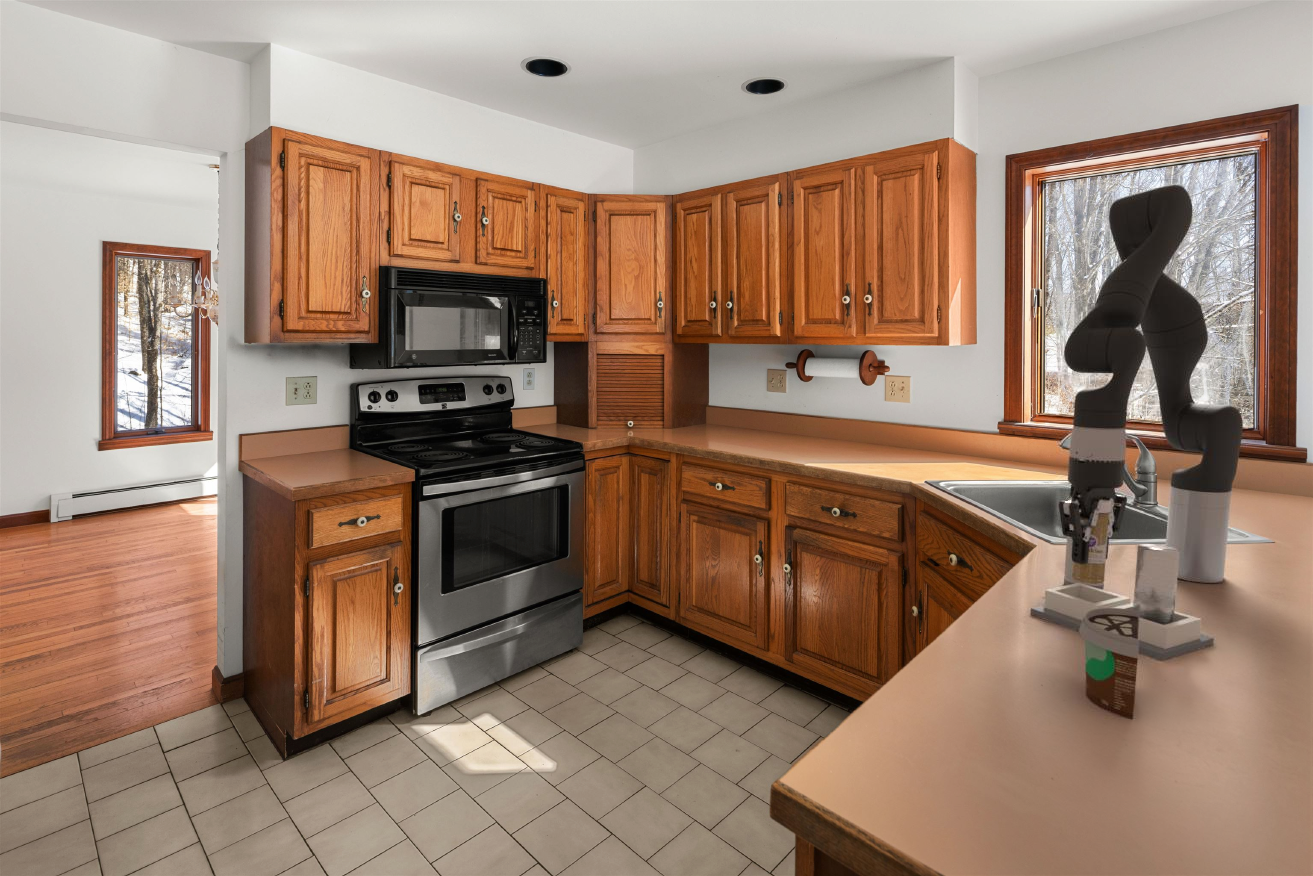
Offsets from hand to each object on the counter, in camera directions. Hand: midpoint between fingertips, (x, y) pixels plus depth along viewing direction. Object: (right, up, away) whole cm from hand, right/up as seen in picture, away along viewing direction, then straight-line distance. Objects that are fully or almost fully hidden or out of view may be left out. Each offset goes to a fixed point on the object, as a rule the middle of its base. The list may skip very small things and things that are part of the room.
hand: (1089, 560), depth 113 cm
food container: (-14, -13, -25) cm, 32 cm away
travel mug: (+9, -8, +16) cm, 20 cm away
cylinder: (+4, -11, -8) cm, 14 cm away
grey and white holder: (+2, -10, -4) cm, 11 cm away
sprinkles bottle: (0, -4, 0) cm, 3 cm away
